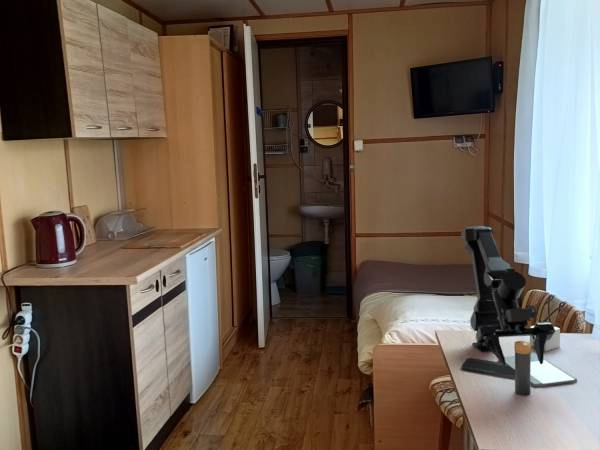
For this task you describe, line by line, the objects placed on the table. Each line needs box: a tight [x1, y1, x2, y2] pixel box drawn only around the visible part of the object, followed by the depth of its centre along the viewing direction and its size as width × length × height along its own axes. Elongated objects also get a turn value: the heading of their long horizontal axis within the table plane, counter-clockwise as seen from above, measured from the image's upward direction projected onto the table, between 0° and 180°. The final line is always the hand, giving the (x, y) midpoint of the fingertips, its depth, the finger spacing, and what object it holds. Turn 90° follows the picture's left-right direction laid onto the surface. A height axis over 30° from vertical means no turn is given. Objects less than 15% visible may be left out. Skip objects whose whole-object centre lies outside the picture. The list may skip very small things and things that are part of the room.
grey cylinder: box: [514, 340, 532, 397], centre depth 133 cm, size 4×4×13 cm
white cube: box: [529, 325, 561, 352], centre depth 162 cm, size 6×6×6 cm
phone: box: [461, 357, 515, 380], centre depth 148 cm, size 8×1×15 cm
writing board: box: [504, 352, 578, 388], centre depth 146 cm, size 18×12×1 cm, turn 8°
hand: (523, 364), depth 132 cm, fingers open, 9 cm apart
